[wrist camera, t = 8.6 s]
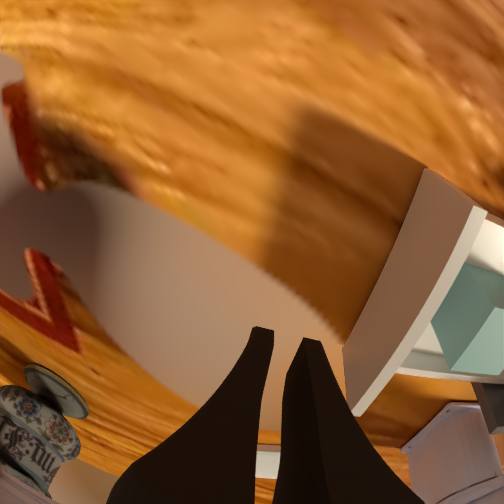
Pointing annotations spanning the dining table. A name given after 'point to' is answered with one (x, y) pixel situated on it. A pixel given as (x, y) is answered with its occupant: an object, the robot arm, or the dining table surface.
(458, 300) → the teal block
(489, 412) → the housing
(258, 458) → the hard drive
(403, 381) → the dining table surface
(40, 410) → the apothecary jar
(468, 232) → the tray
